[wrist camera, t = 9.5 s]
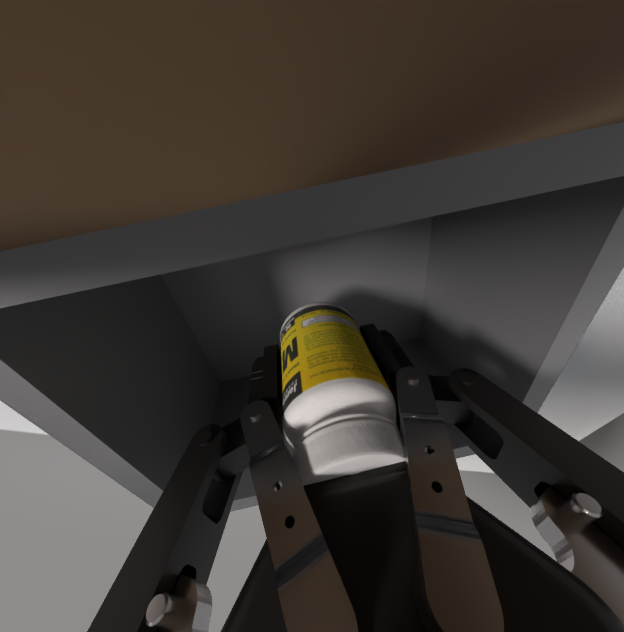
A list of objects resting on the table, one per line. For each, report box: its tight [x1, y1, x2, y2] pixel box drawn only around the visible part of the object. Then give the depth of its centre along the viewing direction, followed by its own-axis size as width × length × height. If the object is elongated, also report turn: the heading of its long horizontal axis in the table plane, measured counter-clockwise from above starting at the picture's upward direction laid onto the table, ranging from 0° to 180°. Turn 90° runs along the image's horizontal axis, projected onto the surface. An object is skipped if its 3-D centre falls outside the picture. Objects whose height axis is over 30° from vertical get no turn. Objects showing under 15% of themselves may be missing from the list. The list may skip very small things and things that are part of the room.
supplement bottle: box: [280, 302, 406, 487], centre depth 11 cm, size 5×5×8 cm
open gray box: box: [0, 122, 624, 512], centre depth 13 cm, size 20×15×10 cm
